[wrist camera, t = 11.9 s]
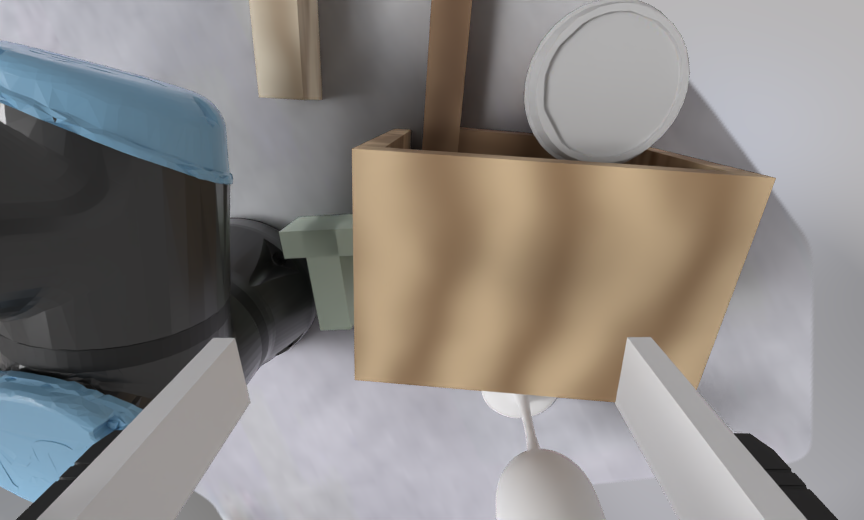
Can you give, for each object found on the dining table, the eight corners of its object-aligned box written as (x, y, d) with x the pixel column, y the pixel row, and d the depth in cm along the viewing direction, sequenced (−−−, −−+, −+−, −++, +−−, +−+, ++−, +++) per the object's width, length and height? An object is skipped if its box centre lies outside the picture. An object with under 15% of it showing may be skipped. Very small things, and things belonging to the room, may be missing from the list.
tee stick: (316, 306, 44) (300, 331, 39) (299, 216, 40) (278, 232, 35) (380, 304, 43) (371, 328, 38) (369, 212, 39) (357, 228, 35)
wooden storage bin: (390, 280, 42) (354, 379, 27) (394, 128, 36) (351, 148, 21) (605, 297, 41) (689, 408, 26) (642, 145, 36) (775, 177, 21)
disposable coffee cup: (505, 32, 33) (531, -2, 22) (625, 24, 32) (715, -14, 21) (503, 152, 37) (524, 175, 25) (612, 147, 36) (682, 169, 25)
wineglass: (497, 344, 44) (531, 540, 25) (571, 368, 45) (662, 576, 25) (470, 404, 47) (480, 619, 28) (539, 425, 48) (597, 650, 28)
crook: (413, 152, 37) (396, 172, 27) (431, -170, 29) (417, -319, 18) (589, 166, 37) (640, 193, 26) (658, -156, 28) (773, -299, 18)
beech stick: (284, 97, 36) (258, 97, 31) (270, -68, 32) (239, -97, 27) (323, 99, 36) (303, 99, 31) (315, -66, 31) (290, -95, 27)
